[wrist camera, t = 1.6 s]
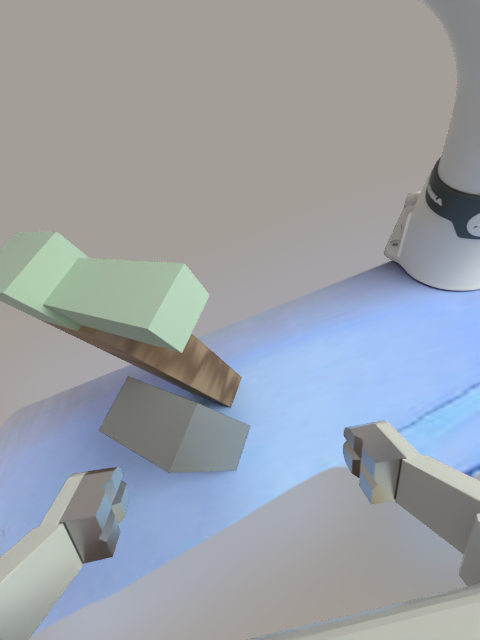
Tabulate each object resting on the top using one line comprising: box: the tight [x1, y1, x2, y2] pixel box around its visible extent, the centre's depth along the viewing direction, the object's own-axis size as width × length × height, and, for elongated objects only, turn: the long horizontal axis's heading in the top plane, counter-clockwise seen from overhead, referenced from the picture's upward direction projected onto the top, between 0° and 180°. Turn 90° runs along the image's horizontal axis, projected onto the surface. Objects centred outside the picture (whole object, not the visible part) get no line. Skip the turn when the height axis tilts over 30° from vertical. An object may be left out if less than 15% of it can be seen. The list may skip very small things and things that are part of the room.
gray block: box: [99, 376, 250, 473], centre depth 31 cm, size 6×10×16 cm, turn 69°
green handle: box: [0, 231, 209, 353], centre depth 16 cm, size 5×16×5 cm, turn 69°
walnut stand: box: [41, 320, 242, 407], centre depth 31 cm, size 5×8×26 cm, turn 69°
